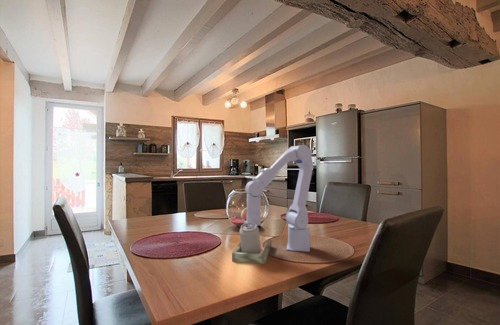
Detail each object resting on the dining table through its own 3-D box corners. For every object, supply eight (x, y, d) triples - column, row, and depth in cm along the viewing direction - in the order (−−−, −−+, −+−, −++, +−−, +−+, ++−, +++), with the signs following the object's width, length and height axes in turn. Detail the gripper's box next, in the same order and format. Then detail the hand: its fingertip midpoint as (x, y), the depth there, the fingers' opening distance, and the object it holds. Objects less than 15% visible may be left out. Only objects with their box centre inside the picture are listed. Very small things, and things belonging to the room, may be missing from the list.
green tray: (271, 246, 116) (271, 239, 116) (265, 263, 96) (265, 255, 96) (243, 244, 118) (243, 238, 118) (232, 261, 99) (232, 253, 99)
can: (262, 248, 107) (259, 221, 104) (259, 259, 100) (256, 231, 97) (244, 247, 108) (241, 221, 105) (240, 259, 101) (237, 230, 98)
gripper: (247, 207, 116) (247, 238, 116) (239, 213, 101) (239, 249, 101) (263, 208, 114) (263, 239, 114) (258, 214, 100) (257, 250, 100)
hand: (253, 244), depth 108 cm, fingers closed
